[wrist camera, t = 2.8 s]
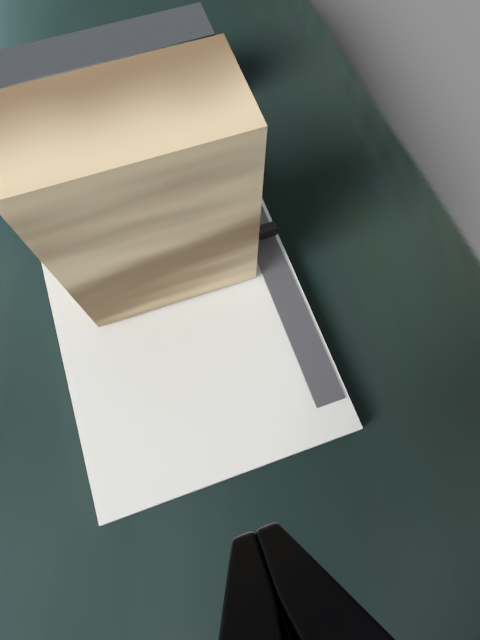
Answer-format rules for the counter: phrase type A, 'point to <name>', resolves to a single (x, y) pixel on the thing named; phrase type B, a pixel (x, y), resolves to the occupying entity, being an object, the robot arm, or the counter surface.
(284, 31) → the counter surface
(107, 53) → the grey rectangular bar
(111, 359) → the plate
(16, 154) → the block
